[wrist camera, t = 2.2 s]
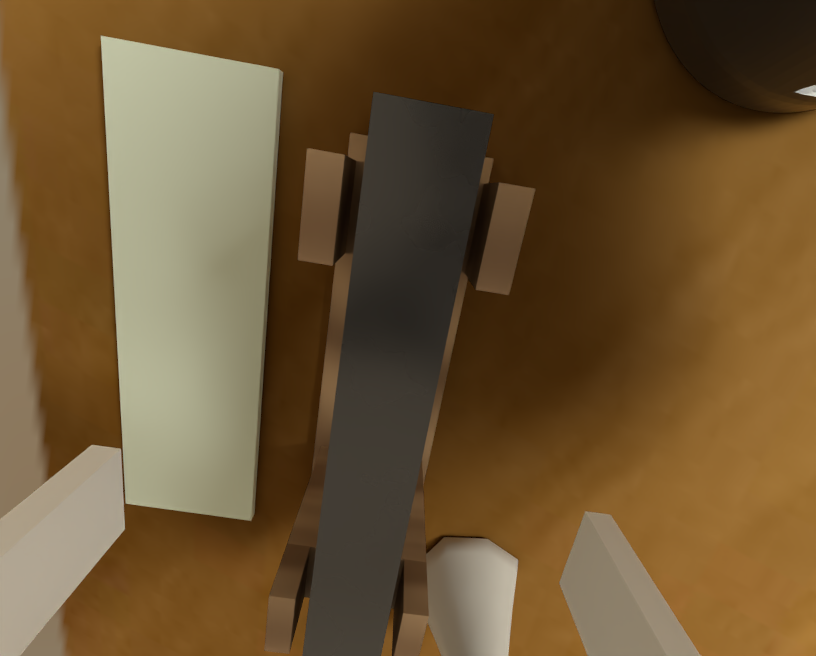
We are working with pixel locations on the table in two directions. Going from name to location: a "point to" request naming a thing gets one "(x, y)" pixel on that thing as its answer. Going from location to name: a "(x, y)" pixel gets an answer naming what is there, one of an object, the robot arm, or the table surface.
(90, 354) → the table surface
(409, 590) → the rack
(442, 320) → the rail
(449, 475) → the table surface
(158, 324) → the mat
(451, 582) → the flask
